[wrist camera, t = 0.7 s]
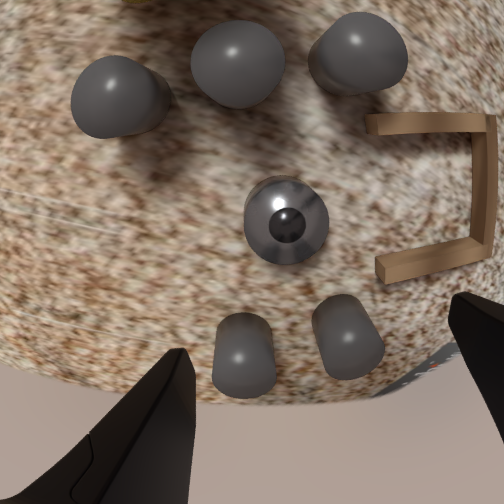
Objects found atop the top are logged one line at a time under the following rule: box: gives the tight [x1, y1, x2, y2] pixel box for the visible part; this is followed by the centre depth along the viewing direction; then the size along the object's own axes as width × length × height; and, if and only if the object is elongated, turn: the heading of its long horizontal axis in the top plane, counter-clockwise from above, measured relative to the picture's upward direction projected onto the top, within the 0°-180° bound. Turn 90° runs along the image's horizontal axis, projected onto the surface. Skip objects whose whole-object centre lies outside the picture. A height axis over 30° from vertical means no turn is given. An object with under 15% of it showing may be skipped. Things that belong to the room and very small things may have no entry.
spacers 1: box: [71, 12, 408, 139], centre depth 13 cm, size 16×4×4 cm, turn 100°
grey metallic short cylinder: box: [244, 175, 329, 265], centre depth 18 cm, size 5×5×3 cm
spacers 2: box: [212, 294, 385, 399], centre depth 20 cm, size 11×4×4 cm, turn 100°
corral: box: [364, 112, 498, 285], centre depth 17 cm, size 10×11×2 cm
